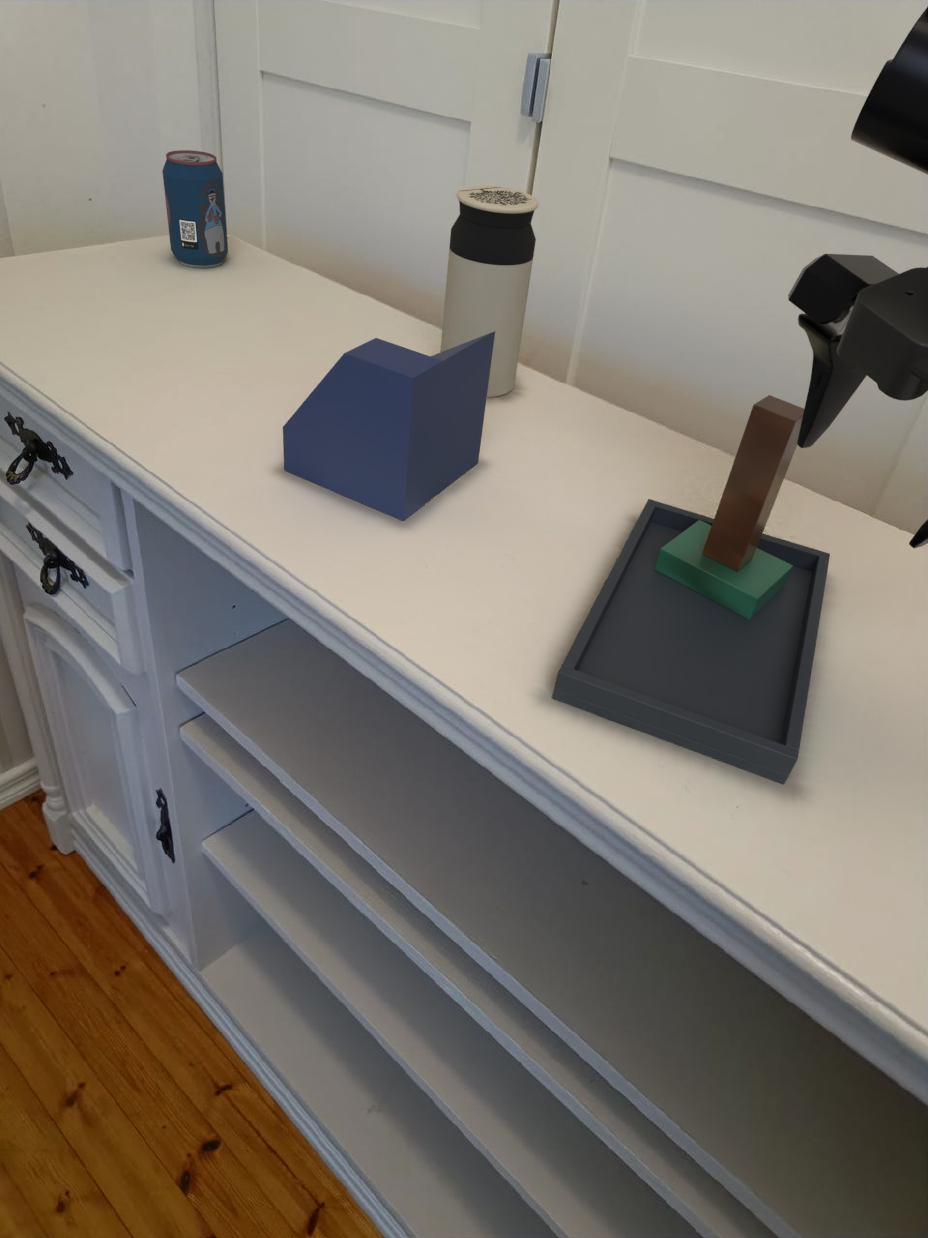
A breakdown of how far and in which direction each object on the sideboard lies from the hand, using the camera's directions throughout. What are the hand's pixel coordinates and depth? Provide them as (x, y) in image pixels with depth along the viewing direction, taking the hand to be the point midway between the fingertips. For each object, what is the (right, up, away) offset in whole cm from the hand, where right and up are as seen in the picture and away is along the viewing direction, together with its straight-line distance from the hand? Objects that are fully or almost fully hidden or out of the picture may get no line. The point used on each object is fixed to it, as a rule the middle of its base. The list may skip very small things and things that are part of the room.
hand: (856, 493), depth 50 cm
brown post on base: (-4, -4, +14) cm, 15 cm away
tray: (-6, -8, +10) cm, 15 cm away
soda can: (-57, +38, +58) cm, 90 cm away
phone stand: (-30, +6, +23) cm, 39 cm away
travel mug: (-22, +17, +39) cm, 48 cm away
